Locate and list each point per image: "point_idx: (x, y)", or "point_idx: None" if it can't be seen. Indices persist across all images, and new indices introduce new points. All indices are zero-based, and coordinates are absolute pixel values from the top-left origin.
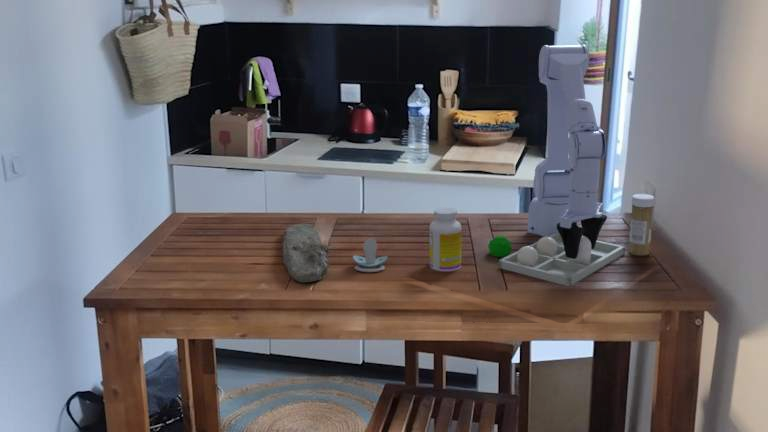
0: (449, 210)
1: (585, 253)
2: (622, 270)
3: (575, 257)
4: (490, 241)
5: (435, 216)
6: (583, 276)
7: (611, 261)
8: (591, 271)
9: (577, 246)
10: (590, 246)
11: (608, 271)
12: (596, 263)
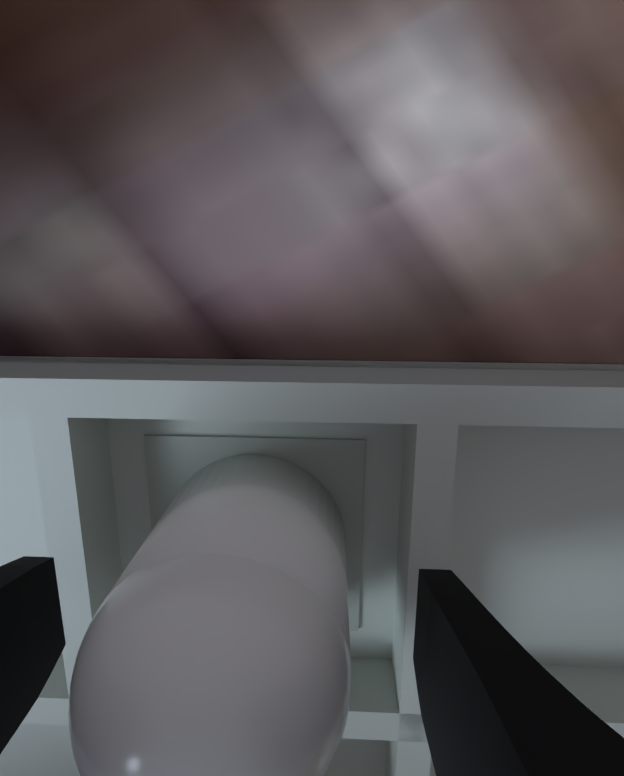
0: None
1: (295, 542)
2: (64, 220)
3: (454, 576)
4: None
5: None
6: (549, 372)
7: (2, 361)
8: (391, 371)
9: (536, 671)
10: (197, 565)
11: (169, 307)
12: (294, 381)
